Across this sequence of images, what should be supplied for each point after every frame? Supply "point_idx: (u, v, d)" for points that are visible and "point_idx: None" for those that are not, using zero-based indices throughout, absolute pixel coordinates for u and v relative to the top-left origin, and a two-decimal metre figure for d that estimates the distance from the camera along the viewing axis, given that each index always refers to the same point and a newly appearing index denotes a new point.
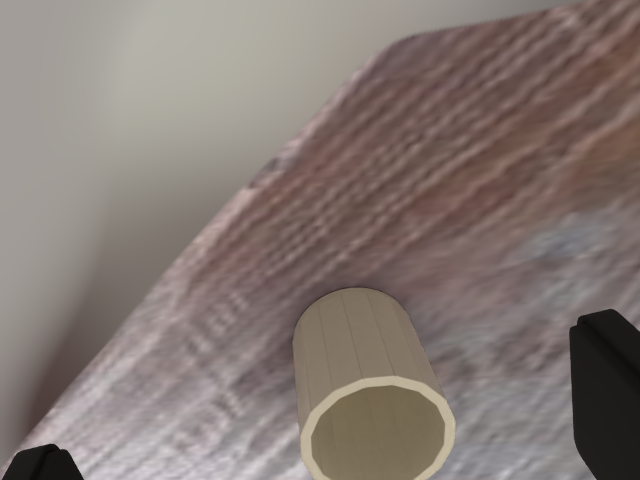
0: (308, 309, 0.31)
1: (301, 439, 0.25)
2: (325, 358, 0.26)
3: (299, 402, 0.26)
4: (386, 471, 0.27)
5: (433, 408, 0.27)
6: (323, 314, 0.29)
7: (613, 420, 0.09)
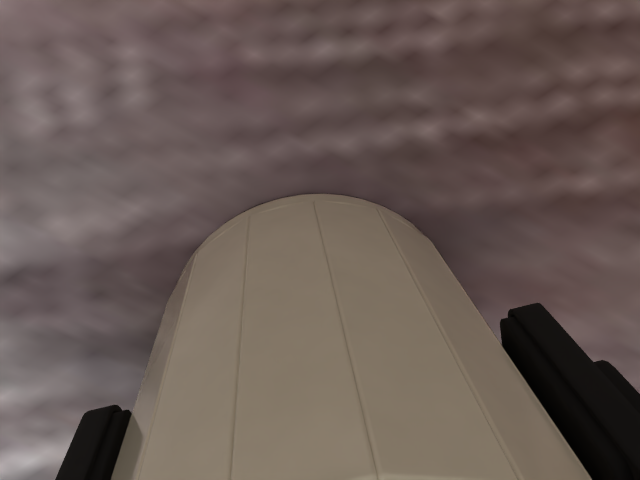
0: (279, 202, 0.12)
1: None
2: (334, 326, 0.07)
3: (164, 425, 0.07)
4: None
5: None
6: (328, 223, 0.11)
7: None
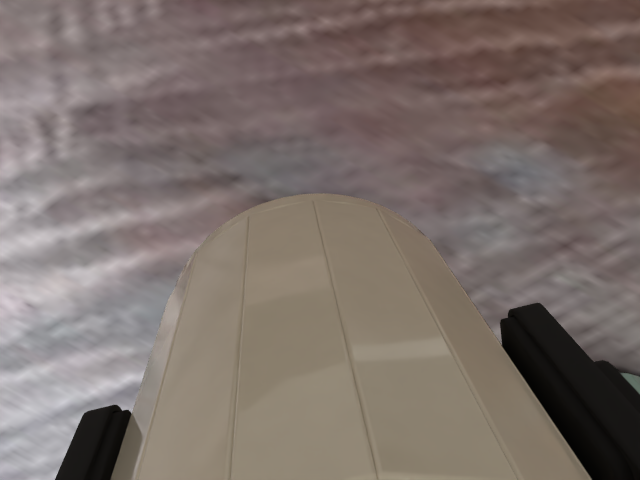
0: (279, 201, 0.12)
1: None
2: (333, 325, 0.07)
3: (164, 424, 0.07)
4: None
5: None
6: (328, 222, 0.11)
7: None
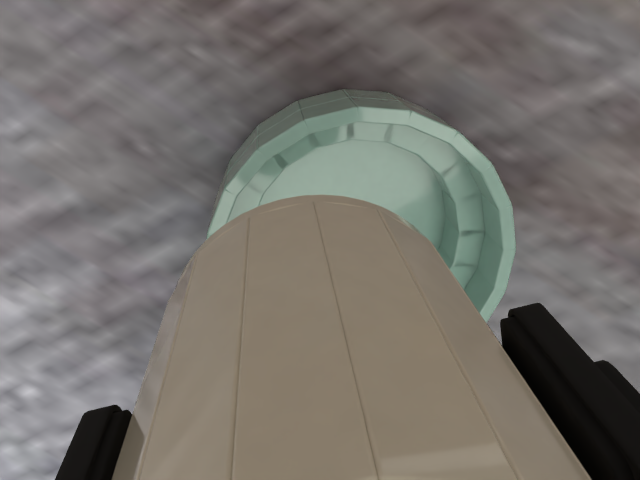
0: (279, 202, 0.12)
1: None
2: (334, 328, 0.07)
3: (165, 426, 0.07)
4: None
5: None
6: (329, 224, 0.11)
7: None
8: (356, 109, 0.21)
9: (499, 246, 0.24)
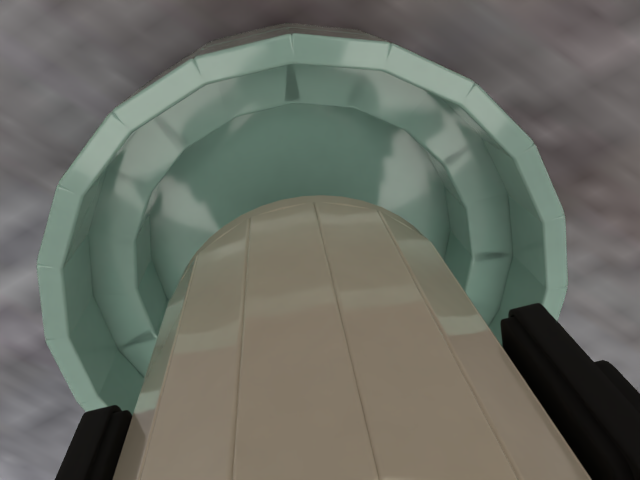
0: (279, 203, 0.12)
1: None
2: (335, 329, 0.07)
3: (165, 427, 0.07)
4: None
5: None
6: (329, 224, 0.11)
7: None
8: (290, 38, 0.11)
9: (539, 281, 0.15)
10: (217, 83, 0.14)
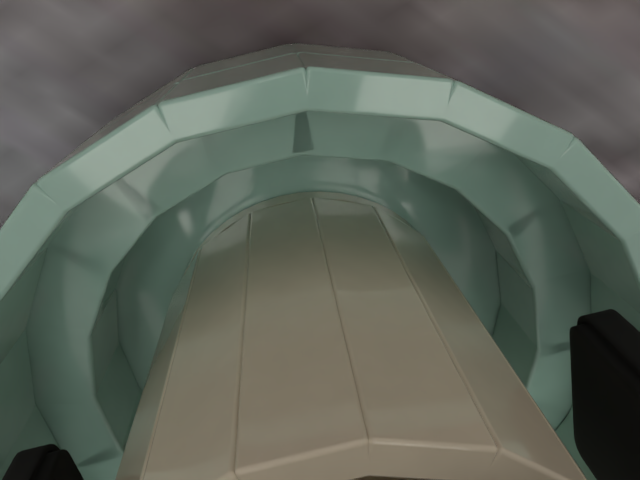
0: (279, 199, 0.13)
1: None
2: (331, 311, 0.08)
3: (173, 402, 0.07)
4: None
5: None
6: (326, 218, 0.11)
7: (613, 420, 0.09)
8: (303, 75, 0.08)
9: None
10: None
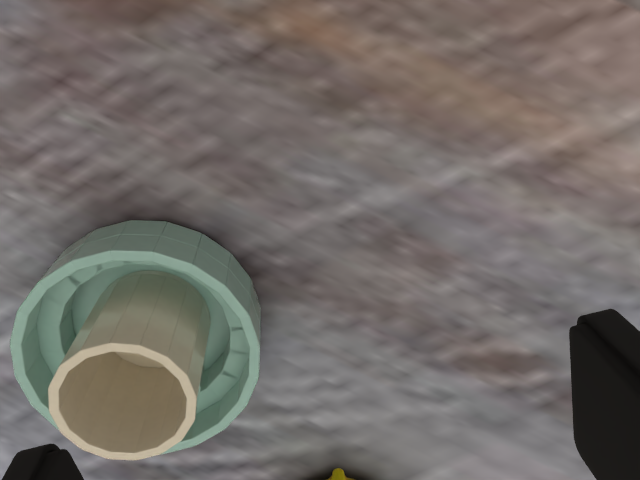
0: (131, 274, 0.33)
1: (58, 370, 0.26)
2: (120, 316, 0.28)
3: (75, 341, 0.28)
4: (115, 437, 0.29)
5: (184, 404, 0.30)
6: (141, 283, 0.32)
7: (613, 420, 0.09)
8: (109, 252, 0.28)
9: None
10: None
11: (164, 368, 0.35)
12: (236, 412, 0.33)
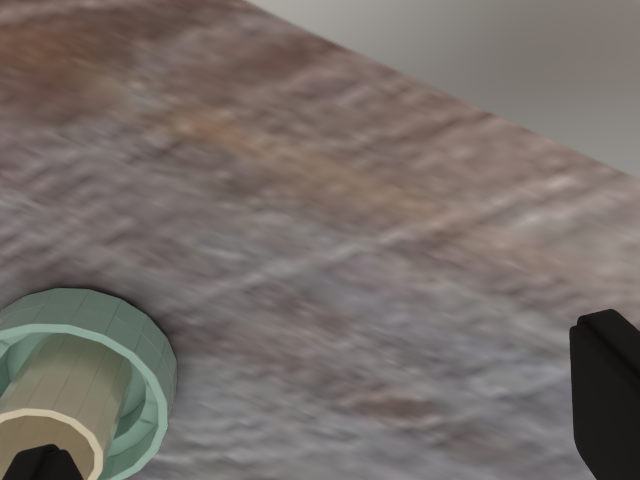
0: (59, 333, 0.37)
1: None
2: (39, 379, 0.33)
3: None
4: None
5: None
6: (64, 344, 0.36)
7: (613, 420, 0.09)
8: (30, 325, 0.32)
9: None
10: None
11: None
12: (148, 456, 0.37)
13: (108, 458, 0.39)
